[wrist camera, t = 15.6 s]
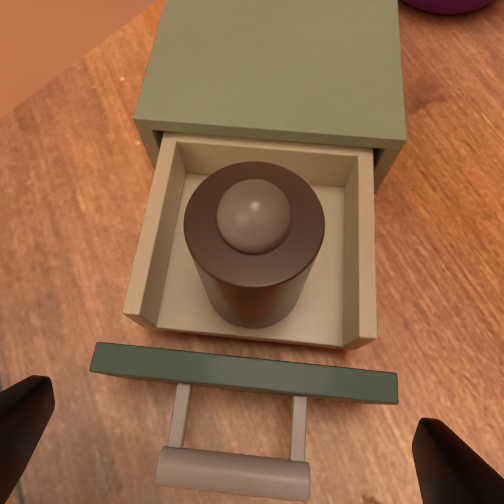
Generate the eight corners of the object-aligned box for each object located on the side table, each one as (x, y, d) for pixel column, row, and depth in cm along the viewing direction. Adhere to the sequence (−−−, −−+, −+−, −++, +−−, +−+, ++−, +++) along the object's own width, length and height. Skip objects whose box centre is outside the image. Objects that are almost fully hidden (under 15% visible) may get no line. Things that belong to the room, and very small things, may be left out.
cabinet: (370, 202, 24) (407, 140, 18) (160, 184, 24) (132, 118, 19) (367, 48, 29) (395, -38, 23) (193, 35, 29) (179, -52, 24)
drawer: (369, 495, 17) (404, 524, 13) (103, 464, 18) (60, 482, 14) (364, 187, 23) (388, 143, 19) (167, 170, 24) (150, 123, 20)
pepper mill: (283, 342, 19) (308, 297, 11) (191, 309, 19) (147, 242, 11) (312, 254, 20) (351, 157, 12) (226, 226, 21) (210, 117, 13)
